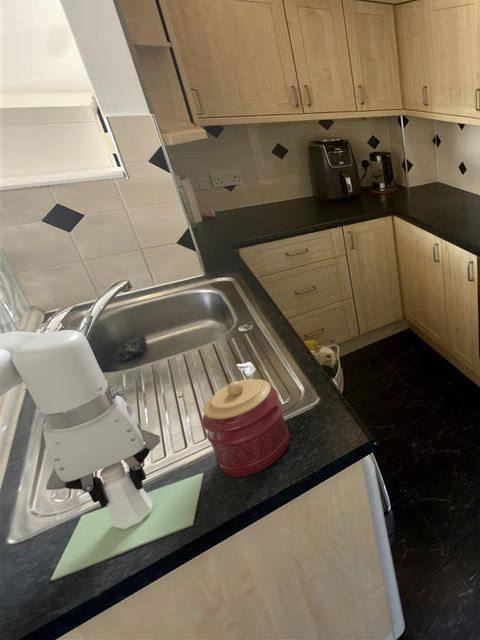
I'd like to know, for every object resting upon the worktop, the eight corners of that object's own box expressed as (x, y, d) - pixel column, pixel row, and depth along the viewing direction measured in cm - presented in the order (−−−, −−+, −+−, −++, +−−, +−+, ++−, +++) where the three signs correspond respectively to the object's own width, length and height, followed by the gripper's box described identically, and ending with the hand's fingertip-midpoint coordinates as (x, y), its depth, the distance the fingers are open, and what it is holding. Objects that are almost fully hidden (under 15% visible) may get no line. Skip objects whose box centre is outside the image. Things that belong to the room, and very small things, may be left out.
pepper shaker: (147, 495, 75) (125, 450, 71) (159, 509, 72) (137, 463, 69) (108, 519, 71) (83, 472, 67) (119, 535, 68) (94, 487, 64)
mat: (51, 581, 63) (50, 579, 62) (82, 517, 73) (81, 515, 72) (193, 525, 70) (192, 523, 70) (204, 473, 80) (203, 472, 80)
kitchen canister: (283, 420, 94) (264, 355, 87) (297, 453, 84) (277, 384, 78) (215, 450, 86) (189, 381, 80) (224, 491, 77) (195, 417, 70)
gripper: (148, 372, 71) (180, 452, 78) (3, 421, 61) (55, 509, 67) (150, 393, 66) (185, 476, 72) (-8, 450, 55) (50, 542, 62)
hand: (122, 491), depth 70 cm, fingers closed on pepper shaker, 3 cm apart
